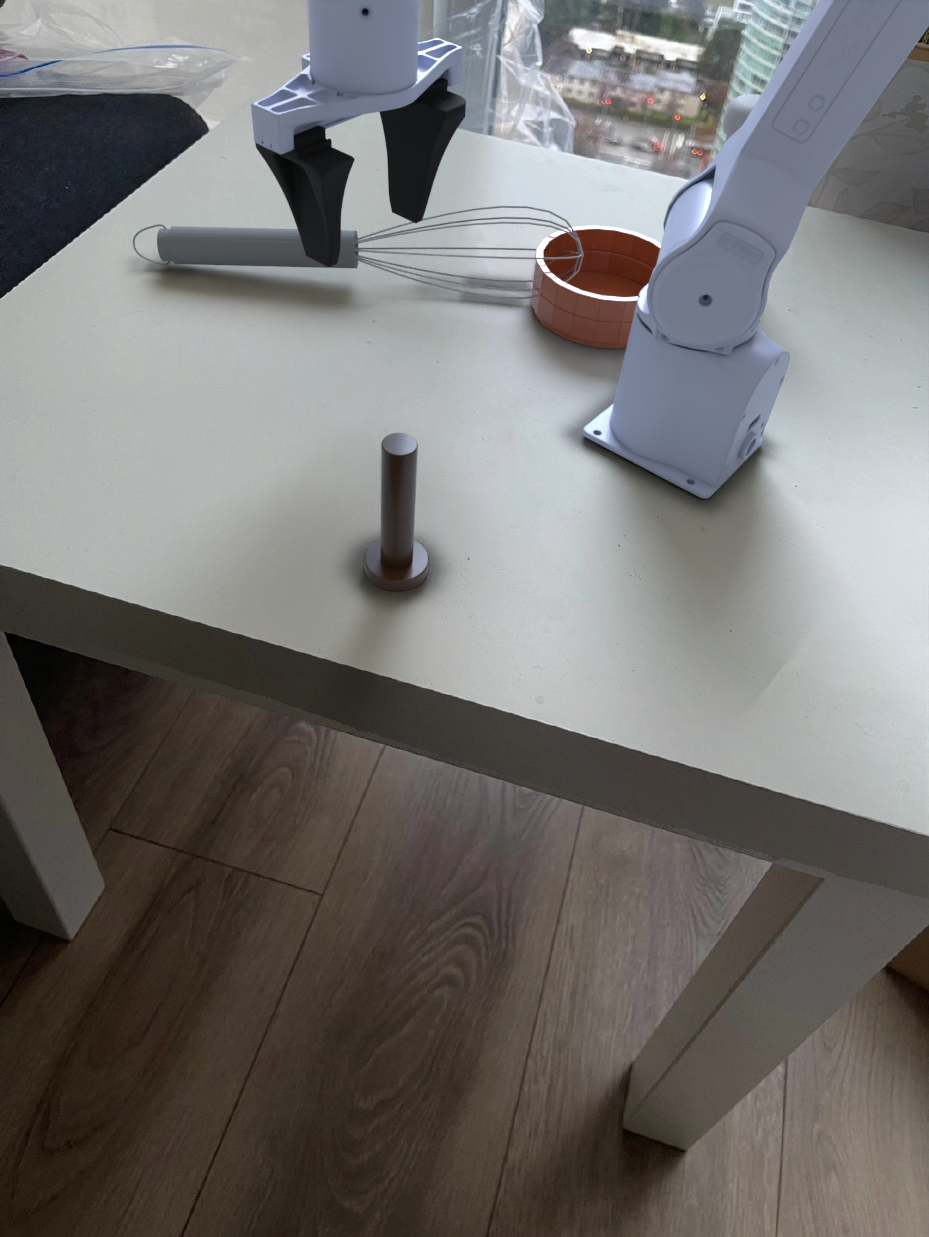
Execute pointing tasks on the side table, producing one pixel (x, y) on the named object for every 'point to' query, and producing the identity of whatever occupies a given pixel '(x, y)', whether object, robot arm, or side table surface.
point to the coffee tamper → (397, 520)
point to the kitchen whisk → (289, 252)
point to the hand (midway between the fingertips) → (365, 237)
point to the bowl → (592, 283)
